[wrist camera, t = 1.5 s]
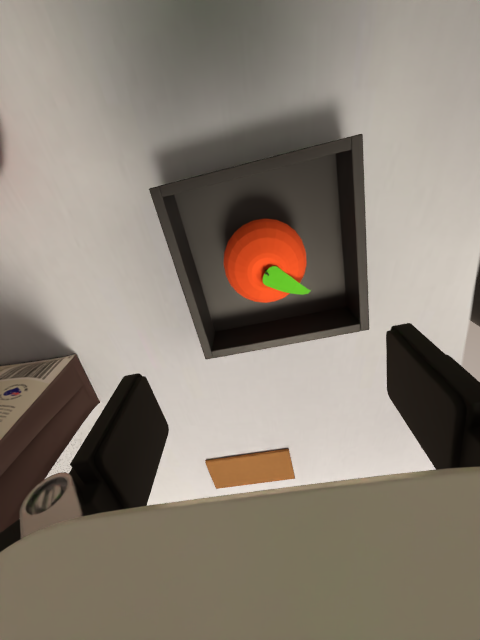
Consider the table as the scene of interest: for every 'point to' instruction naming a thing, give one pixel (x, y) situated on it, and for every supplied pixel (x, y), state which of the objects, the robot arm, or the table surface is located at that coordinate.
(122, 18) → the table surface
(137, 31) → the table surface
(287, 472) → the cork mat
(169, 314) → the table surface
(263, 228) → the clementine
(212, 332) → the black box
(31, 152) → the table surface
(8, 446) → the protein powder
